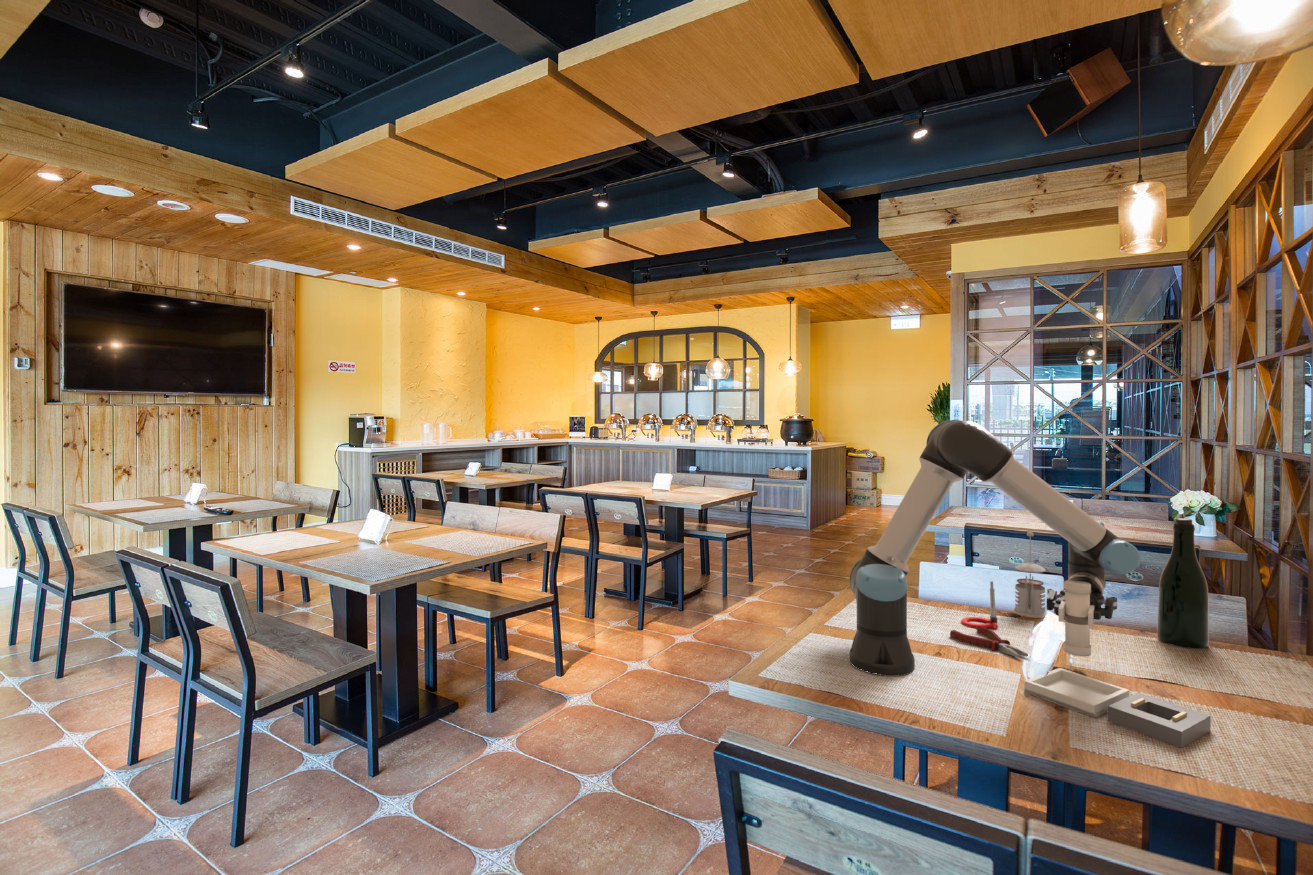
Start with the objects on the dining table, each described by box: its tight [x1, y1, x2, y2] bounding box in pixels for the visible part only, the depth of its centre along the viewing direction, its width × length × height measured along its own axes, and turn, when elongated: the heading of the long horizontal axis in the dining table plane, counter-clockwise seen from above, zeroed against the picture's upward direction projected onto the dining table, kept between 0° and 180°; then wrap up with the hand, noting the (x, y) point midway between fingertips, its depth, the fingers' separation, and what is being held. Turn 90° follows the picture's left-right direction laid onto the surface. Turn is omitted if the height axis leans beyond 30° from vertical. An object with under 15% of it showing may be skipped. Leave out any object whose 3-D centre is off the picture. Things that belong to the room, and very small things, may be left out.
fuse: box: [1063, 579, 1092, 658], centre depth 135 cm, size 5×5×15 cm
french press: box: [1011, 531, 1047, 619], centre depth 193 cm, size 10×12×25 cm
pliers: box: [949, 626, 1029, 660], centre depth 166 cm, size 12×20×3 cm, turn 18°
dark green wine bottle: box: [1157, 517, 1210, 650], centre depth 167 cm, size 10×10×33 cm
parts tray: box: [1023, 667, 1130, 719], centre depth 136 cm, size 14×14×2 cm
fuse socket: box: [1107, 692, 1212, 749], centre depth 123 cm, size 12×12×4 cm
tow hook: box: [960, 580, 999, 630], centre depth 184 cm, size 8×13×9 cm
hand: (1075, 617), depth 131 cm, fingers closed on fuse, 4 cm apart
